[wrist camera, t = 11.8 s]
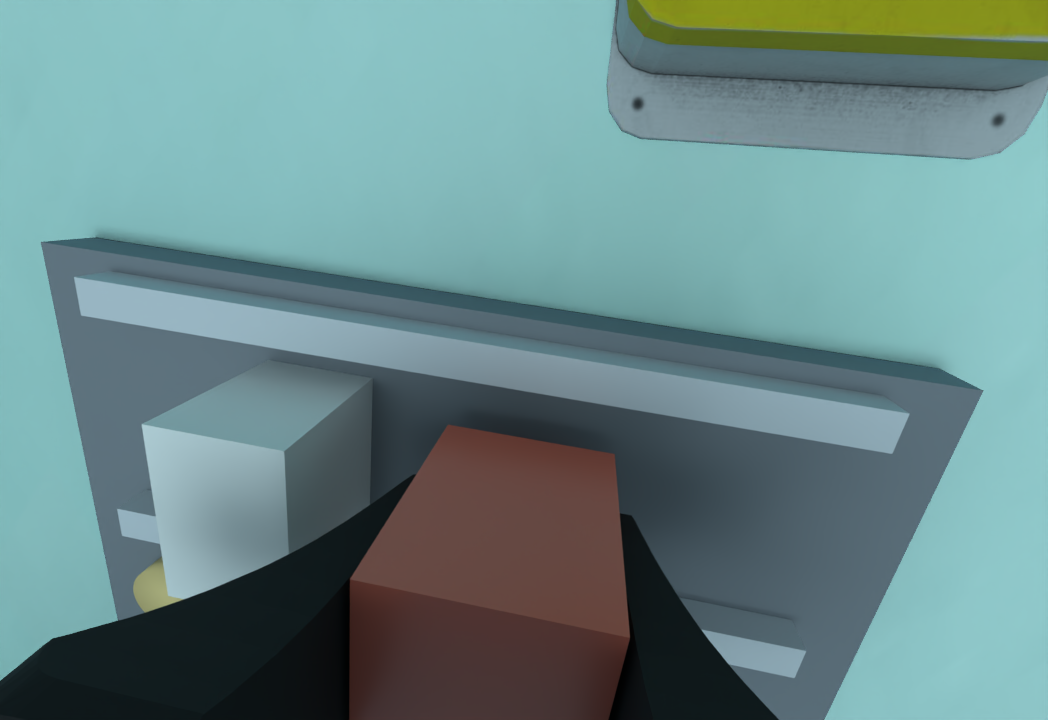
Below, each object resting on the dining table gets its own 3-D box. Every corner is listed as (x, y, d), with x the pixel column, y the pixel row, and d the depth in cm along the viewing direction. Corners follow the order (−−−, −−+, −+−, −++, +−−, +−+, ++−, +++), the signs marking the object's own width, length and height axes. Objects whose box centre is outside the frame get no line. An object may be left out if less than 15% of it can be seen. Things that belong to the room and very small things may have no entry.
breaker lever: (369, 513, 15) (292, 623, 11) (275, 494, 15) (168, 595, 11) (372, 378, 13) (284, 451, 9) (268, 360, 13) (141, 423, 10)
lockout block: (586, 587, 13) (582, 819, 8) (437, 557, 13) (349, 763, 8) (614, 454, 11) (630, 637, 7) (448, 424, 12) (350, 579, 7)
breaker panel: (776, 735, 17) (805, 821, 15) (154, 597, 19) (93, 653, 17) (939, 368, 12) (1019, 408, 10) (94, 237, 15) (-3, 245, 12)
